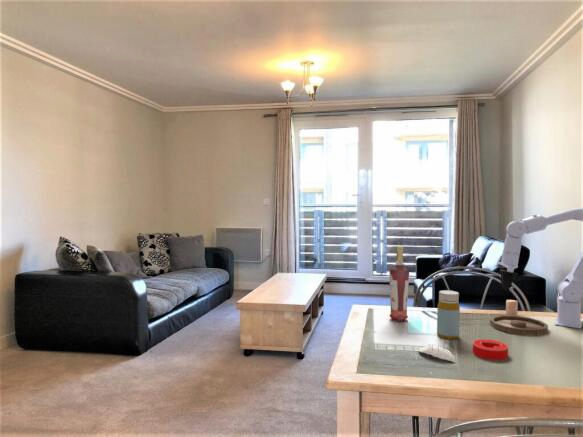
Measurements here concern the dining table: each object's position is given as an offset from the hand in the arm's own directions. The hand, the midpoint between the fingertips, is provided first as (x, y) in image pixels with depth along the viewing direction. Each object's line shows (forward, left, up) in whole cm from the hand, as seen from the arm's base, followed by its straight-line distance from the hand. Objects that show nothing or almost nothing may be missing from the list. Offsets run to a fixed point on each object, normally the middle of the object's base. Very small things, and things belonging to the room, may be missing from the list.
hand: (504, 287), depth 170 cm
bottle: (+35, -11, -12) cm, 38 cm away
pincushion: (+56, -8, -13) cm, 58 cm away
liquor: (+26, -32, -12) cm, 43 cm away
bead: (-5, +2, -12) cm, 13 cm away
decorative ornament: (+44, +4, -13) cm, 46 cm away
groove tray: (+9, +6, -12) cm, 16 cm away
